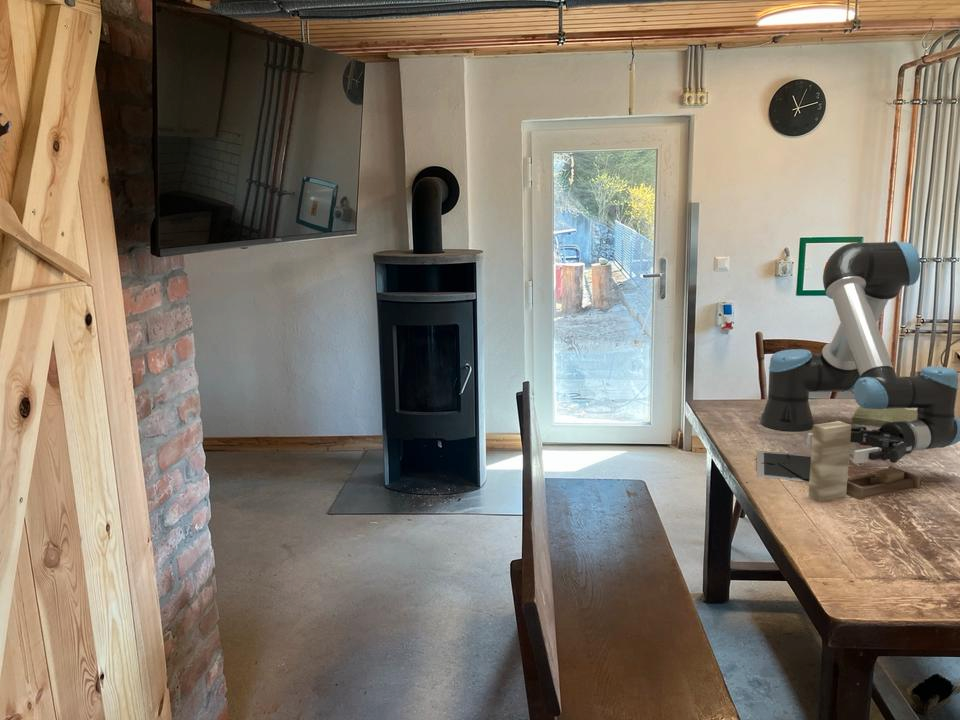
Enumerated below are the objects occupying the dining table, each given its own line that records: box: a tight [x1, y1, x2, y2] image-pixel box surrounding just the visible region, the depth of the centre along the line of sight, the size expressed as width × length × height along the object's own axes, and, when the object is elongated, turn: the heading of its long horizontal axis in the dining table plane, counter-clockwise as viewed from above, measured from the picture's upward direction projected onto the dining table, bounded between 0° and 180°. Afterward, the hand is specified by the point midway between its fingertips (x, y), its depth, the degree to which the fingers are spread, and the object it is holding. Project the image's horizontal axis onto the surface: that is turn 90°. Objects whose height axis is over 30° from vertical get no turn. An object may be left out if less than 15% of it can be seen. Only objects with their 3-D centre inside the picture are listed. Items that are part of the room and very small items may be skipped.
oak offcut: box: [874, 468, 904, 483], centre depth 169 cm, size 4×5×4 cm
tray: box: [846, 465, 921, 501], centre depth 168 cm, size 8×18×4 cm, turn 109°
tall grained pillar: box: [808, 420, 852, 503], centre depth 162 cm, size 4×8×18 cm, turn 109°
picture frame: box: [756, 450, 811, 483], centre depth 184 cm, size 16×3×21 cm
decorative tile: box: [851, 406, 918, 428], centre depth 224 cm, size 19×20×4 cm
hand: (830, 448), depth 161 cm, fingers open, 13 cm apart
